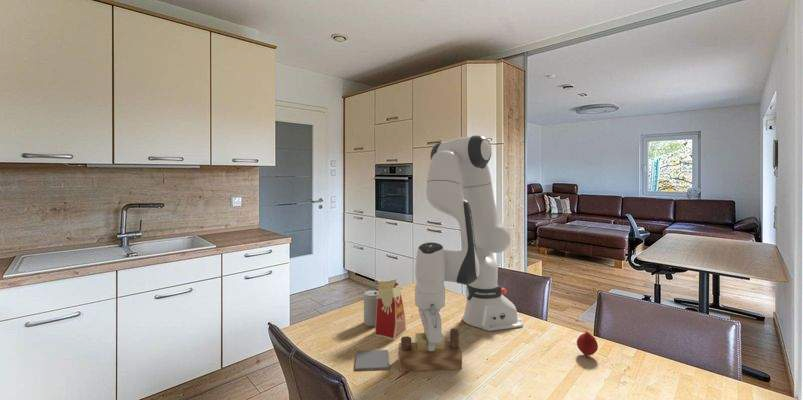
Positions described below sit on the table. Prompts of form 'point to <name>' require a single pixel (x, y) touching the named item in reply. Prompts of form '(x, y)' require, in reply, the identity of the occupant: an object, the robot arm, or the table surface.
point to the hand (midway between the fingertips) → (429, 343)
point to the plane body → (430, 355)
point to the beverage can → (370, 308)
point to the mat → (372, 360)
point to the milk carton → (389, 311)
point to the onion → (587, 344)
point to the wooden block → (426, 343)
